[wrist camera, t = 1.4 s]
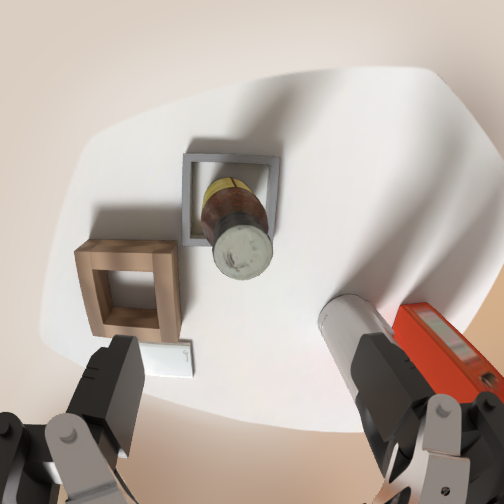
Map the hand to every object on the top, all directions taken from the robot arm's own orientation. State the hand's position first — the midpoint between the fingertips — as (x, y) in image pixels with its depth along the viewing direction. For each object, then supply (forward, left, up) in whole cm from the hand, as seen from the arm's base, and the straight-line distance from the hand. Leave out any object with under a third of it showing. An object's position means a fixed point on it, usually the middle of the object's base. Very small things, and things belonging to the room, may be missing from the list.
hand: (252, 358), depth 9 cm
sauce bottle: (0, 0, -30) cm, 30 cm away
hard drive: (+12, +28, -31) cm, 43 cm away
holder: (+14, +13, -30) cm, 35 cm away
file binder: (-36, +26, -30) cm, 54 cm away
